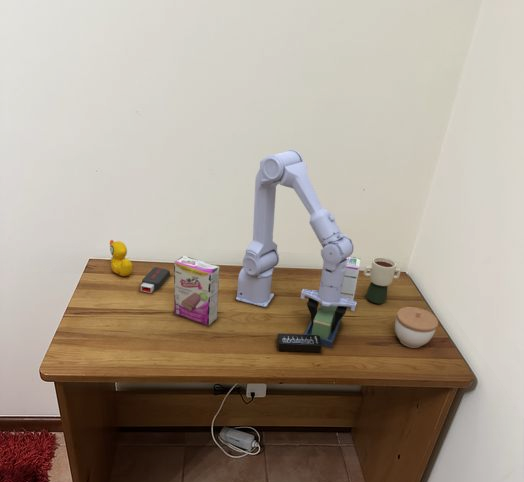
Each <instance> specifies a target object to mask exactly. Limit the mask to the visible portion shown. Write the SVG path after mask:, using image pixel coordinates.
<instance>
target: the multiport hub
mask: <svg viewBox="0 0 524 482" xmlns="http://www.w3.org/2000/svg"><path fill="white" fill-rule="evenodd" d="M276 343H277V350H278V351H280V352H302V353H321V351H322V347H323V345H322V343H321V339H320V336H319V335H304V334H302V333H301V334H299V333H298V334H296V333H277V339H276Z"/></svg>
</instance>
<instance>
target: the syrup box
mask: <svg viewBox="0 0 524 482" xmlns="http://www.w3.org/2000/svg"><path fill="white" fill-rule="evenodd" d="M346 259H348V260H347V265H346V270H345V275H344V280H343V285H342V290H341V296H343V297H345V298H348V299H350V300H353V301H355V295H356V290H357V285H358V279H359V273H360V267H361V257H356V256H353V255H350V256H349V257H348V258H346ZM347 310H349V309H348V308H347Z"/></svg>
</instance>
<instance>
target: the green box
mask: <svg viewBox="0 0 524 482" xmlns="http://www.w3.org/2000/svg"><path fill="white" fill-rule="evenodd" d="M337 307H338V306H332V305H330V306H329V307H327V306H323V305H322V303H321V304H320V306H319V307H318V309H317V311H318V312H317V314H316V316H315V318H314V322H313V328H312V334H311V335H319V336H320V338H324V339H328V338H329V336H330V333H331V331H332V326H333V323H334V319H335V311H336V309H337Z"/></svg>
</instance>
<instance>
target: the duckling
mask: <svg viewBox="0 0 524 482" xmlns="http://www.w3.org/2000/svg"><path fill="white" fill-rule="evenodd" d="M109 251H110V254H111V256H112V257H111V258H110V268H111V271H113V272H114V273H115V274H118V275H119V276H122V277H127V276H130V275H131V274H132V273H133V268H134V265H133V263H132V262H131V260H130V259H129V258H126V256H127V254H128V248H127V246H126V244H125V243H124V242H122V241H120V240H117V241H114V240H113V239H111V240H109Z"/></svg>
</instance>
